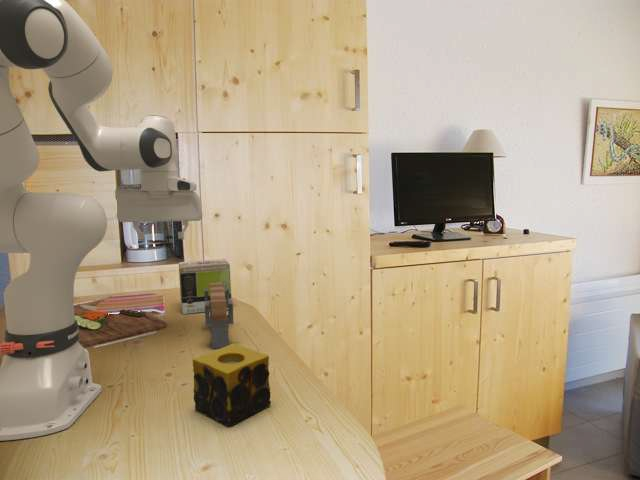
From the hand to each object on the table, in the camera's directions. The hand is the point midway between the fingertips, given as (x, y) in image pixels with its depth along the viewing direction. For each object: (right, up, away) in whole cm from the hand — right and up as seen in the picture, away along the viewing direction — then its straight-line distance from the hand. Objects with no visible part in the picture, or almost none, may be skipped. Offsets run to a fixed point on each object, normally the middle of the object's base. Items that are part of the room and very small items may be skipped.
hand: (161, 239), depth 122 cm
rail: (+13, -18, +4) cm, 23 cm away
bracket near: (+15, -26, -2) cm, 30 cm away
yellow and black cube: (+24, -31, -33) cm, 51 cm away
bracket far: (+12, -24, +12) cm, 29 cm away
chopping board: (-25, -24, +18) cm, 40 cm away
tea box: (+4, -22, +31) cm, 38 cm away
